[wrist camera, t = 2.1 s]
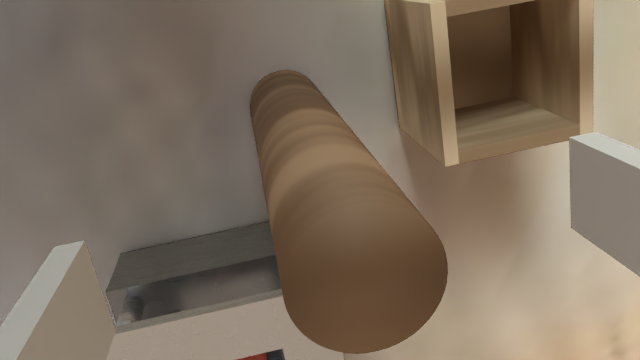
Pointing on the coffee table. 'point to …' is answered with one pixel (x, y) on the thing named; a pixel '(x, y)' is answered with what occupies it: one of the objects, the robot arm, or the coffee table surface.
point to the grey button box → (206, 301)
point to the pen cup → (491, 74)
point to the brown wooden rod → (340, 225)
